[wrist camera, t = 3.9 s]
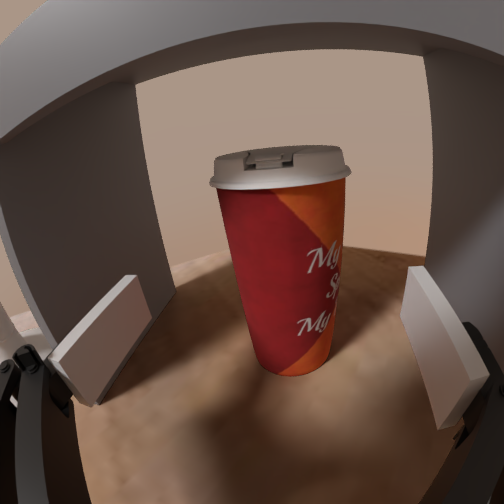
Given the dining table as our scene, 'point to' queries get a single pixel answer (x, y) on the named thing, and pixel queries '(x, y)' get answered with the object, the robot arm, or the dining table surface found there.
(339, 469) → the dining table surface
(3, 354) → the candlestick
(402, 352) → the dining table surface
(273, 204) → the paper cup
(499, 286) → the shelf riser
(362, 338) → the dining table surface
